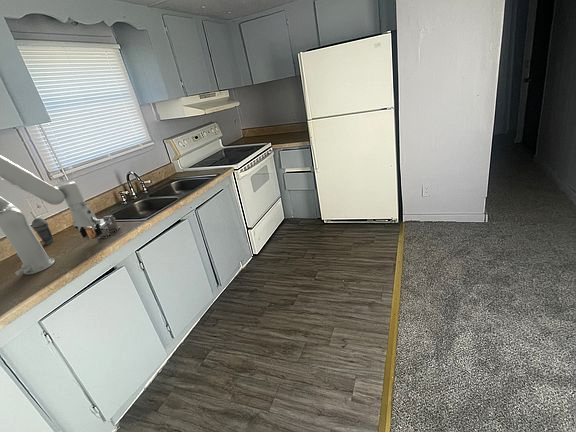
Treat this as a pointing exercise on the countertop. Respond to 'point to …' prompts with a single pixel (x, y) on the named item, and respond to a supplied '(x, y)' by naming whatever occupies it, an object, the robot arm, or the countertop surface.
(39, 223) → the beverage cup
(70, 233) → the countertop surface
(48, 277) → the countertop surface
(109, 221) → the hook rod
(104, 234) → the cradle
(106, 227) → the ramekin
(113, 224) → the eye post
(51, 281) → the countertop surface
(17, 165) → the robot arm
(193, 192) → the countertop surface
